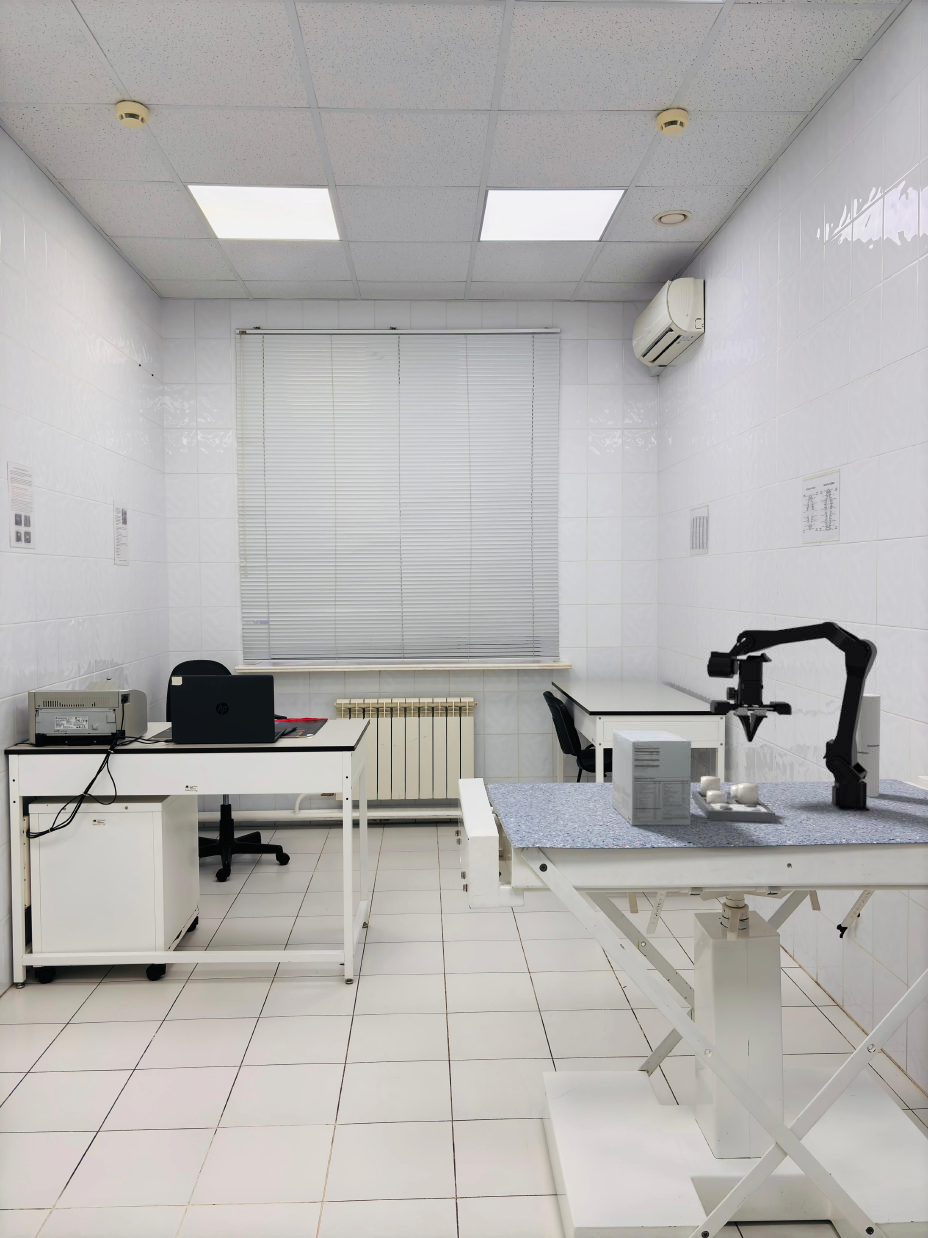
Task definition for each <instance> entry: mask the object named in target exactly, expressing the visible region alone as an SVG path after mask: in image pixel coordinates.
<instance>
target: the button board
mask: <svg viewBox="0 0 928 1238" xmlns="http://www.w3.org/2000/svg"><path fill="white" fill-rule="evenodd" d="M725 792H726V793H727V804H726V803H717V804H707V796H703V795H701V790H691V800H692V799H693V800H694V801H695V802H694V801H693V800H692V801H693V802H694V804H695V805H696V806H697V805H698V806H697V807H698V809H700V811H701V812H702V813H703V815H704V816H705V817H706V818H707V819H708V821H729V822H731V821H732V822H733V821H735V822H753V821H754V823H755V821H756V822H757V823H759V822H760V823H776V812H774V810H772V809H771V808H770V807H769V806H767V804H766V803H764V802H763V801H762V800H761V799H759V798H758V804H757V805H754V804H740V803H738V798H732V797H731V791H725Z"/></svg>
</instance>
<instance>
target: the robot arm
mask: <svg viewBox="0 0 928 1238" xmlns="http://www.w3.org/2000/svg"><path fill="white" fill-rule="evenodd" d="M820 639H826V640H827V641H829V642H830V643H831V644H833V646H834V647H836V648H837V649H839V650H840V651H841V652H843V653H844V665H845V673H846V679H845V680H846V681H845V685H844V690H843V695H842V701H841V707H840V714H839V718H838V719H839V720H838V724H837V730H836V735H835V737H834V739H833V738H830V739H829V740H828V741H825V753H824V756H822V759H823V760H825V761H824V762H825V767H826V768H827V770H828V772H830V773H831V774H832V776H833V778H834V781H833V784H834V785H832V786H831V805H832V806H834V807H836V808H837V809H839V810H840V811H868V812H869V811H870V808H869V807H868V805H867V803H868V802H867V800H868V798H867V783H866V782H864V781H862V780H864V779H865V777H866V775H867V773H868V772H867V770H866V769H865V768H864V767H863V766H862V765H861V764H860V763H859V762H858V759H857V743H856V732H857V727H858V721H859V715H860V710H861V704H862V699H863V694H865V693H864V692H865V686H866V681H867V678H868V676H869V674H870V671H871V670H872V668H873V665H874V662H875V660H876V657H877V655H878V648H877V646H876V645H875V643H874V642H873V641H871V640H869V639H866V638H859V637H858V636H857V635H855V634H853V633H852V632H850V631H848V630H846V629H844V628H843V627H841V626H840V625H839V624H838V623H837V622H835V621H823V622H821V623H817V624H816V623H815V624H809V625H802V626H794V627H789V628H783V629H774V630H773V629H771V630H770V629H746V630H742V631H741V632H739V634H738V635H737V637H736V642H735V644H734V645H733V646H732V648H731V649H730V651H728V652H726V651H718V650H716V651H715V650H711V651H710V656H709V658H708V662H707V664H706V671H707V675H708V677H709V678H715V679H733V678H734V677H735V676H738V682H737V689H736V687H734V686H733V687H732V686H728V687H727V688H726V693H725V694H726V695H725V696H726V700H725V699H724V700H723V699H722V700H721V699H712V700H711V701H710V702H709V711H710V712H711V713H714V714H723V715H724V714H729V713H730V712H731V711H733V713H732V714H733V716H735V717H737V718H738V720H739V721H740V723H741V725H742V726H741V727H742V728H743V731H744V734H745V737H746V740H747V742H748V743H753V740H754V738H755V736H756V733H757V731H758V729H759V727H760V725H761V724H762V722H763V721H764V719H768V718H769V716H768V715H767V712H768V713H769V712H772V713H777V714H778V715H779V716H792V715H793V714H792V713H793V711H792V710H793V707H792V705H791V704H790V703H789V702H787V701H772V700H770V701H769V703H764V701H763V690H764V684H763V683H764V681H763V679H764V676H763V675H764V672H763V671H764V663H772V662H773V660H772V658H770V657H769V656H768V655H767V653H766V652H761V651H765V650H768V649H771V648H773V647H777V646H781V645H784V644H785V645H787V644H793V643H801V642H806V641H807V642H808V641H814V640H820ZM759 652H761V653H760V654H759V655H757V654H756V655H754V654H753V655H752V654H751V653H759ZM742 656H743V657H744V656H746V658H738V657H742ZM730 701H733V703H731V702H730ZM749 712H750V713H749ZM748 713H749V714H748Z"/></svg>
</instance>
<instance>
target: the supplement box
mask: <svg viewBox="0 0 928 1238" xmlns="http://www.w3.org/2000/svg"><path fill="white" fill-rule="evenodd" d="M691 768H692V741H691V740H688V739H685V738H683V737H681V736H678V734H677V735H676V734H675V733H672V732H669V731H667V730H645V729H644V730H643V729H640V730H635V729H634V730H632V729H631V730H630V729H628V730H627V729H626V730H623V729H622V730H621V729H620V730H619V729H613V730H612V779H611V780H612V781H611V782H612V783H611V785H612V789H611V791H612V792H611V793H612V794H611V799H612V800H611V802H612V803H611V806H612V807H613V808H614V809H615V810H616V811H617V812H618V813H619V814H620V815H621V817H623V818H624V819H625V820H626V821H627V823H629V824H630V825H631V826H690V825H691V797H692V790H691V785H692V784H691V782H692V780H691V779H692V776H691V775H692V774H691V773H692V772H691Z"/></svg>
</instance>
